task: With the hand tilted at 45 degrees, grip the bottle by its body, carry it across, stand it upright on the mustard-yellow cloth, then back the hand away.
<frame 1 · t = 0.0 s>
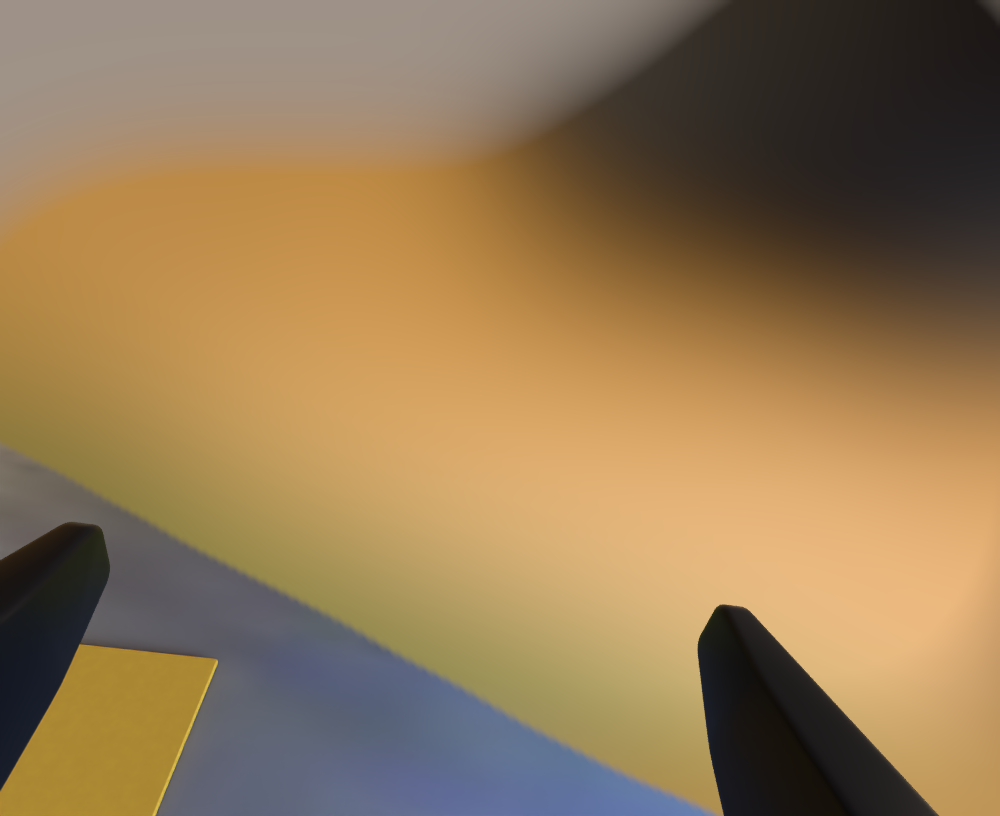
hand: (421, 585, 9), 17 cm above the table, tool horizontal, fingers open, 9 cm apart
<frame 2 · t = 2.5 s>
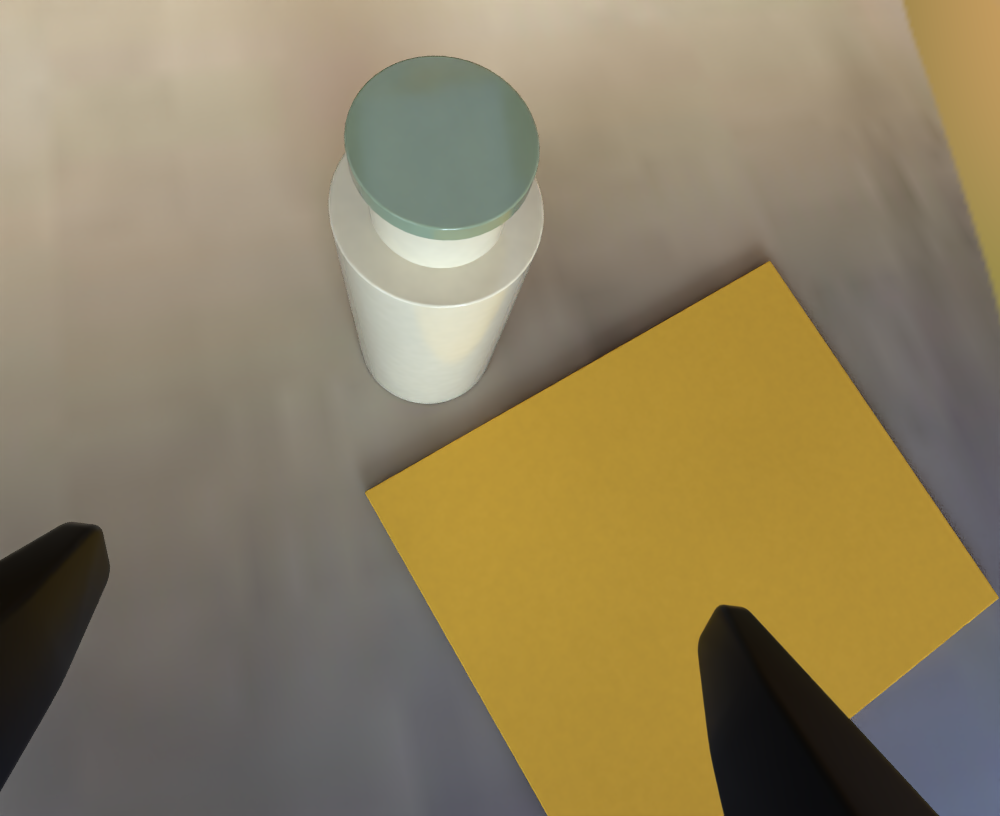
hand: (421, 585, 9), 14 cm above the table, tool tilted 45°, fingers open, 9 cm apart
bottle: (427, 340, 25), on the table
cloth: (694, 547, 24), on the table
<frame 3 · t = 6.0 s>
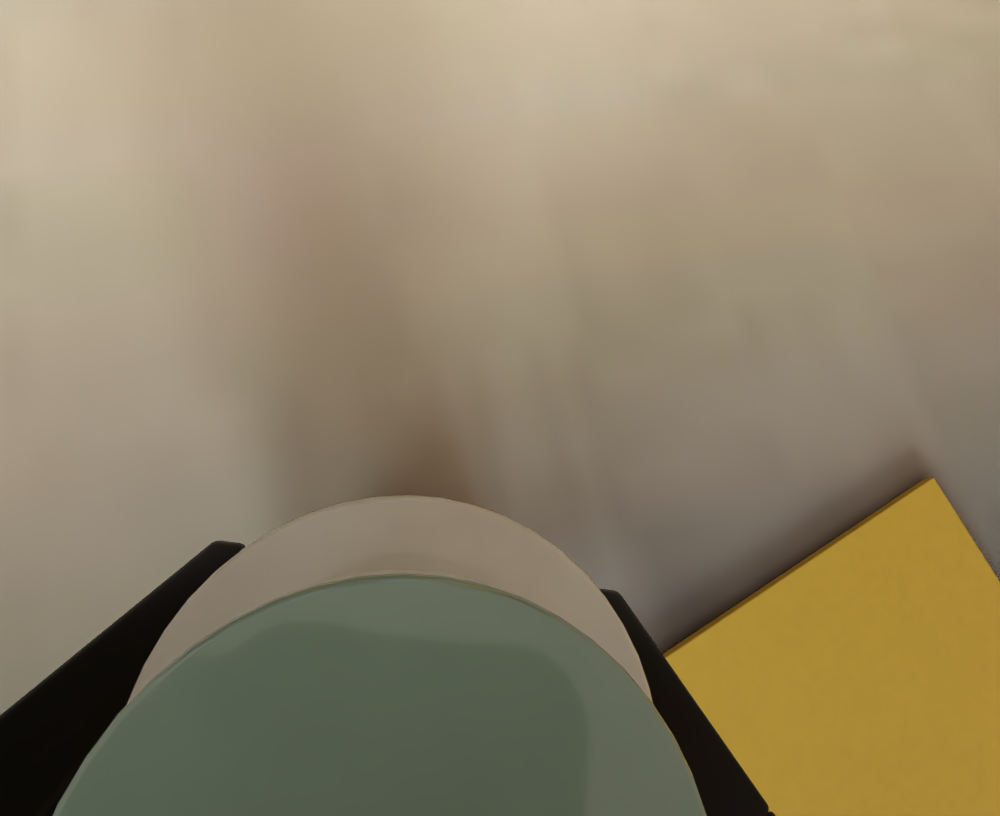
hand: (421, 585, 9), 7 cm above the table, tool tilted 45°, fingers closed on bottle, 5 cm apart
bottle: (407, 621, 16), on the table, touching gripper
when the fingers open (7 cm above the table, at t = 11.9 s): bottle stays where it is, resting on cloth.
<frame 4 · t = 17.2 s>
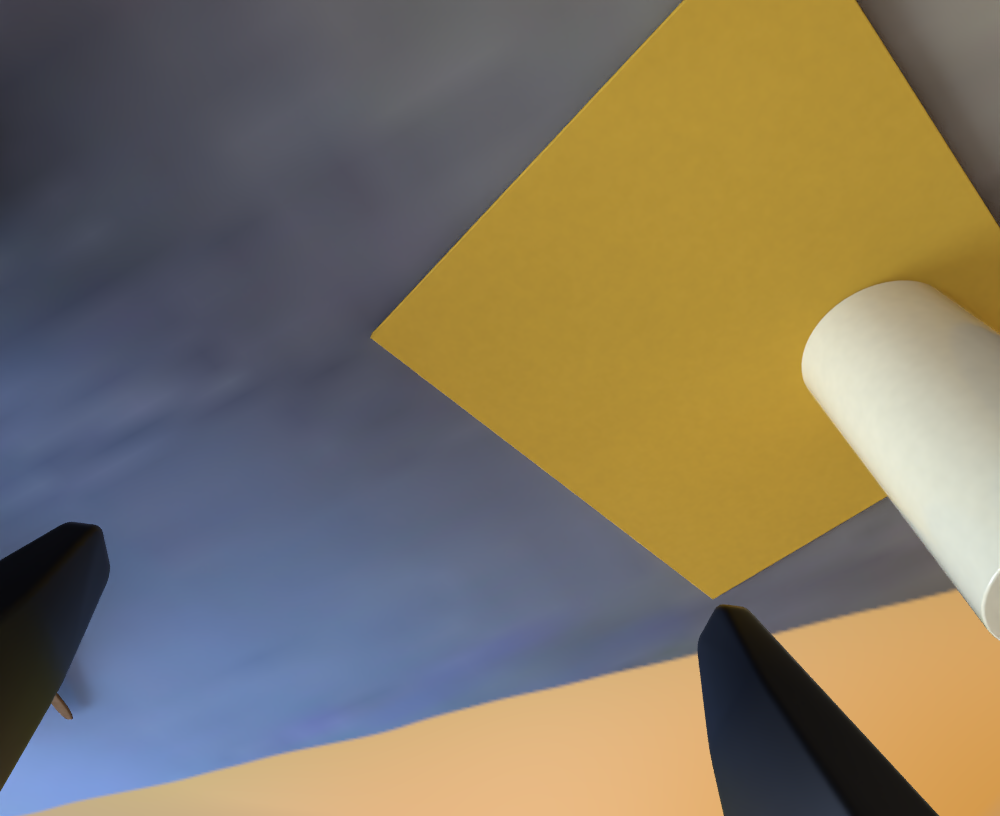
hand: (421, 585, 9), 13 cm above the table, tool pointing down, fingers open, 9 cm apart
bottle: (877, 349, 22), resting on cloth
cloth: (736, 352, 22), on the table
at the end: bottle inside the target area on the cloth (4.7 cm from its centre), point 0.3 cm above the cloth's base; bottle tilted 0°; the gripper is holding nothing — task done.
